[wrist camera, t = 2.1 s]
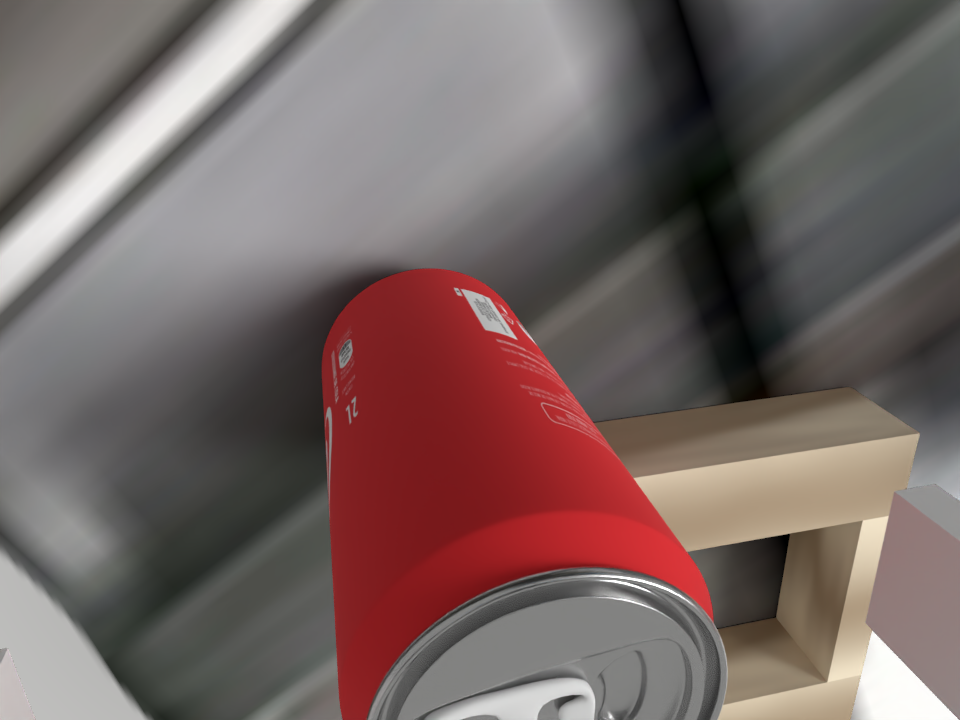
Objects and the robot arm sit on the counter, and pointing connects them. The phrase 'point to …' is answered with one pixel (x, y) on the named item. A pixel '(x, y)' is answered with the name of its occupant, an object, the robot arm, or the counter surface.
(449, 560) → the beverage can
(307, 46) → the counter surface
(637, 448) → the tan rectangular open frame
